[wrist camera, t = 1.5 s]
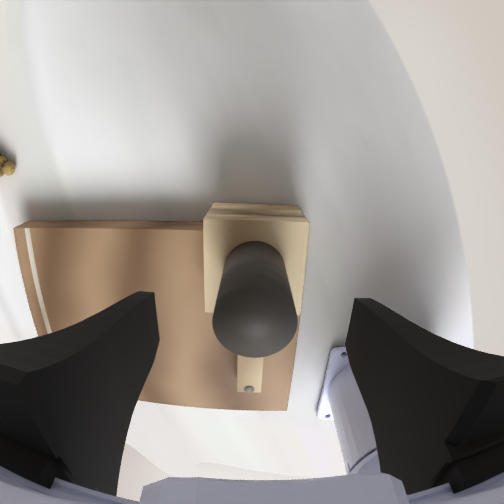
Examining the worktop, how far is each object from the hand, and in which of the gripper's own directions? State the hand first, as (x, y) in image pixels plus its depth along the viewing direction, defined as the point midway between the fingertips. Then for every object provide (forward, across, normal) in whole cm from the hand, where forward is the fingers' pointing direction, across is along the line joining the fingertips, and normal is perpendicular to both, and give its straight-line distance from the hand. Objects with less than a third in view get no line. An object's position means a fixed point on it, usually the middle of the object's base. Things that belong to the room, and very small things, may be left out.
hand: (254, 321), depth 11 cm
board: (+10, +7, +6) cm, 13 cm away
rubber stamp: (+9, 0, +4) cm, 10 cm away
